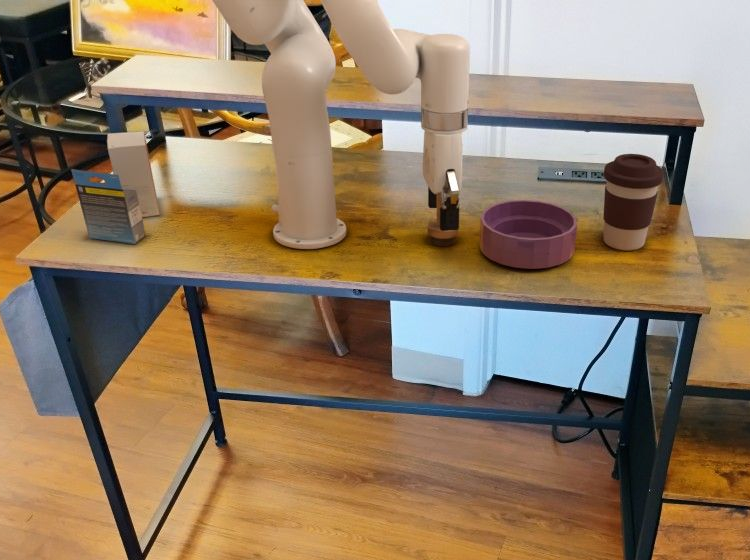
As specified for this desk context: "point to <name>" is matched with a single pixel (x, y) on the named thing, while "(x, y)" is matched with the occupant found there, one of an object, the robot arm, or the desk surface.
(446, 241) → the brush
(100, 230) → the blue retail box
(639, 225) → the coffee cup
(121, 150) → the small box
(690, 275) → the desk surface
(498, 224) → the bowl
